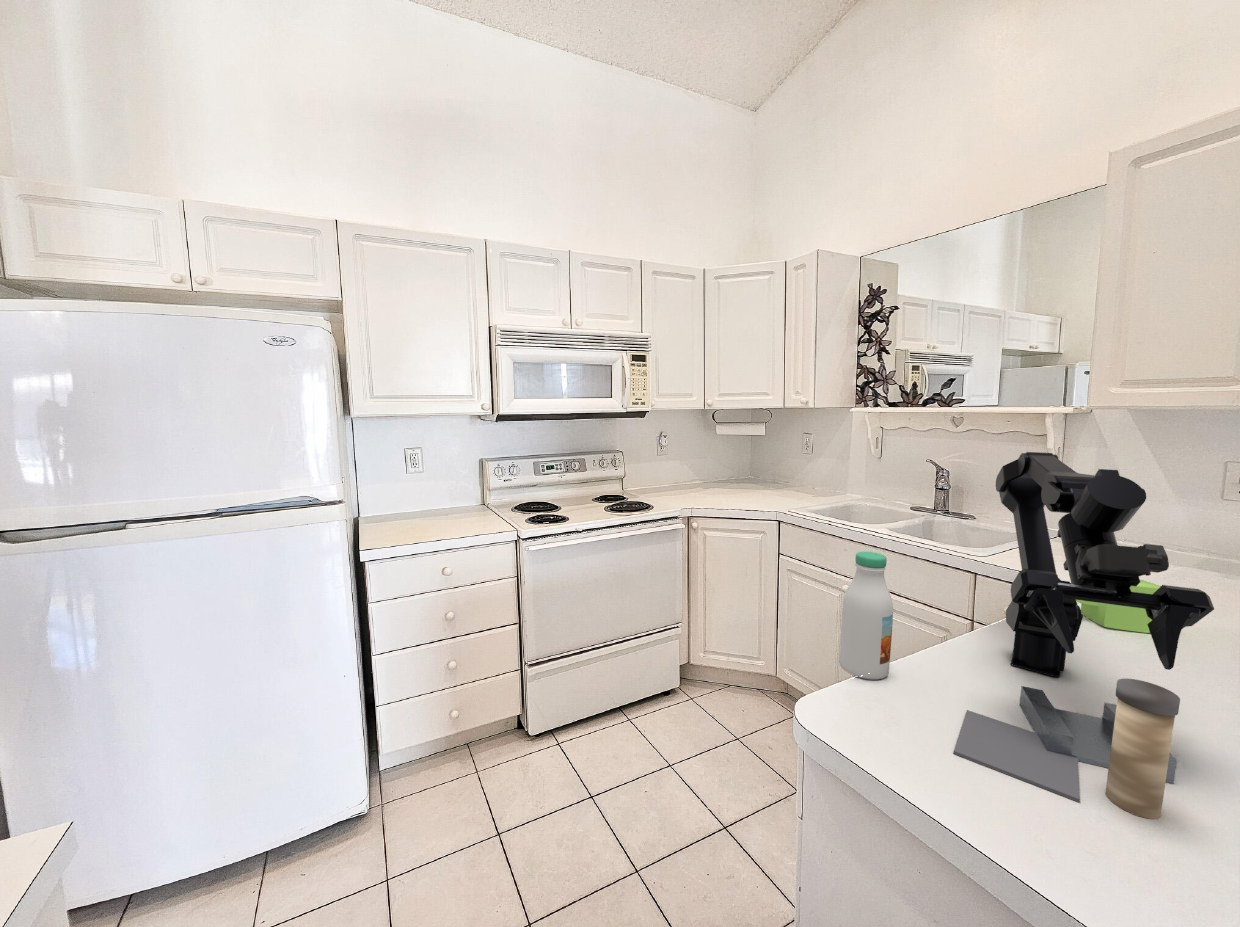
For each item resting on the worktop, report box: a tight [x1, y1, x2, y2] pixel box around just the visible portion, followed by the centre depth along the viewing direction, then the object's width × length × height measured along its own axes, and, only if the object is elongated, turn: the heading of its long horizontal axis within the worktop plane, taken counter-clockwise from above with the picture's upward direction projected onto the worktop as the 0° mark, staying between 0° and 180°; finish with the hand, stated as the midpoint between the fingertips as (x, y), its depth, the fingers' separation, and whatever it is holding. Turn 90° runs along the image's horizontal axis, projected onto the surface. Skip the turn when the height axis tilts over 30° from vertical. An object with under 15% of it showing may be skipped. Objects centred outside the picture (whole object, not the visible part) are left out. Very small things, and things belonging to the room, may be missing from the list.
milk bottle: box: [838, 551, 894, 681], centre depth 85 cm, size 8×8×20 cm
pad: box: [953, 709, 1081, 803], centre depth 65 cm, size 12×12×1 cm
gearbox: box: [1076, 579, 1162, 634], centre depth 106 cm, size 18×10×10 cm, turn 74°
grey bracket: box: [1019, 685, 1178, 785], centre depth 68 cm, size 12×12×3 cm
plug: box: [1105, 678, 1181, 820], centre depth 56 cm, size 5×5×14 cm
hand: (1118, 660), depth 62 cm, fingers open, 9 cm apart
